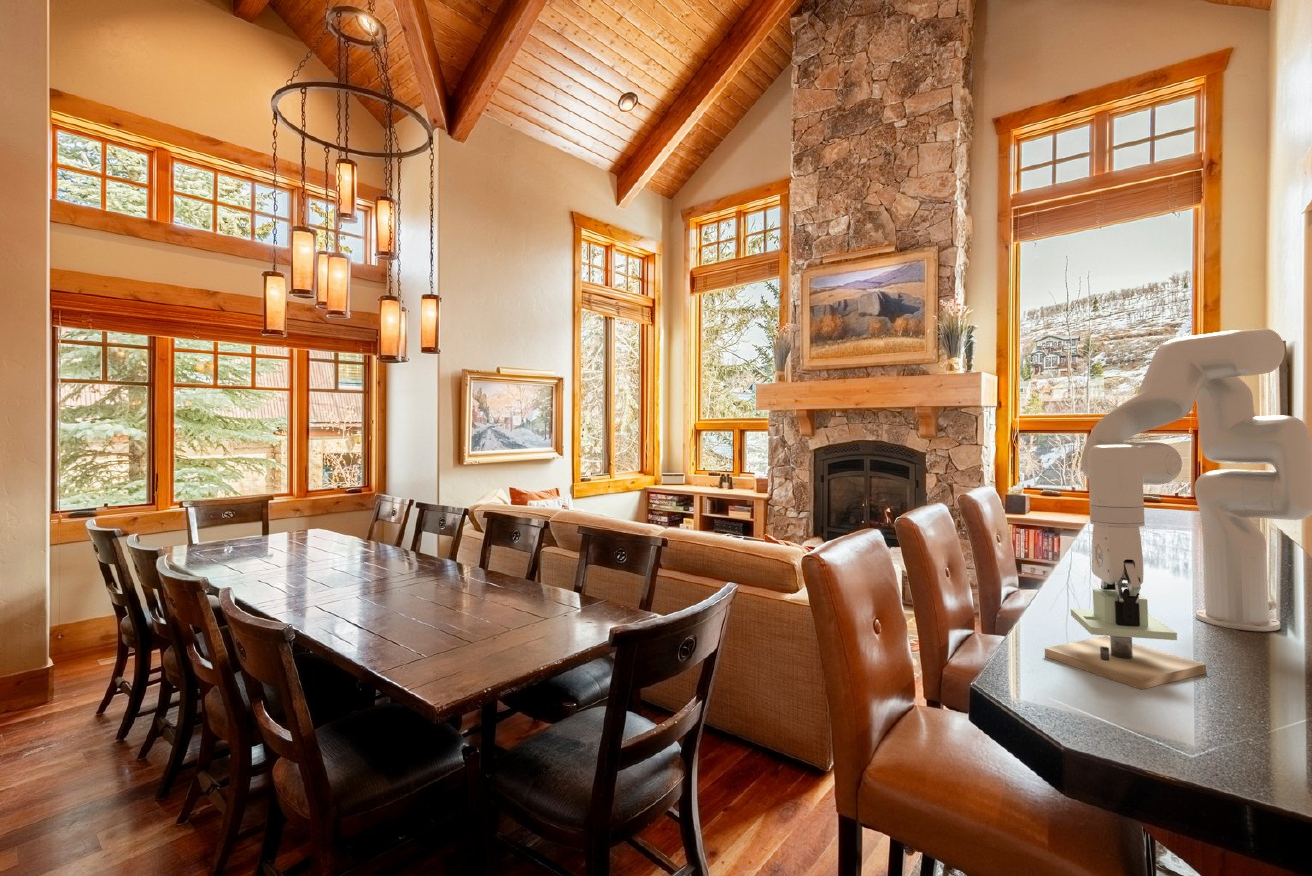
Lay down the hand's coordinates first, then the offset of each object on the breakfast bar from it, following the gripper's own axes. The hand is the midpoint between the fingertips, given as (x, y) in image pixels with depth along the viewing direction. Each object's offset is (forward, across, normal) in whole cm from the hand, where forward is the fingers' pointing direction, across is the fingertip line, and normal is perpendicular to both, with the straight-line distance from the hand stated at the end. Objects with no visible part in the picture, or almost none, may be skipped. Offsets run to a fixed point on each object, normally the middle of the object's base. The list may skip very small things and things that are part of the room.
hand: (1120, 619), depth 105 cm
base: (+8, 0, 0) cm, 8 cm away
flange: (+1, 0, 0) cm, 1 cm away
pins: (+6, +1, -1) cm, 7 cm away
